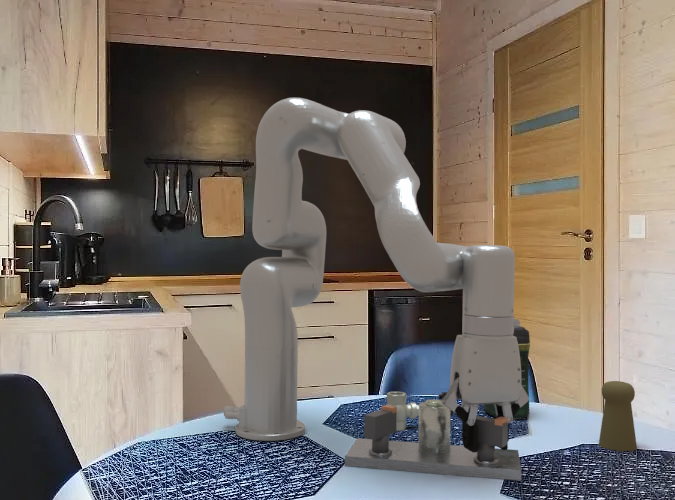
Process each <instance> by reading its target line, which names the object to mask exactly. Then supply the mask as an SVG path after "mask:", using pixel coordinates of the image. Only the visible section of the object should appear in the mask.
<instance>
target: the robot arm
mask: <svg viewBox="0 0 675 500" xmlns="http://www.w3.org/2000/svg"><path fill="white" fill-rule="evenodd" d="M405 136H406V135H405V133H404V131H403V129H402V127H401V126H400V125H399V124H398V123H397V122H396V121H394V120H392V119H390V118H388V117H386V116H383V115H381V114H379V113H377V112H374V111H372V110H371V111H370V110H365V109H364V110H361V109H358V110H355V111H352V112H350V113H347V112H343V111H338V110H336V109H334V108H331V107H329V106H326V105H324V104H322V103H318V102H316V101H313V100H310V99H307V98H303V97H287V98H284V99H281V100H279V101H277V102H276V103H274V104H272V105H271V106H270V107H269V108H268V109H267V110H266V111H265V113H264V114H263V116H262V118H261V119H260V122H259V124H258V127H257V131H256V136H255V159H256V160H255V164H256V165H255V166H256V169H255V180H254V181H255V182H254V193H253V195H254V196H253V206H252V207H253V209H252V222H251V223H252V225H251V226H252V229H251V230H252V236H253V239H254V240H255V241H256V243H257V244H258V245H259V246H261V247H263V248H265V249H268V250H277V251H281V256H267V257H266V256H265V257H261V258H257V259H256V260H253V261H251V263H249V264H248V265H246V267H245V268H244V270H243V272H242V274H241V277H240V282H239V289H240V290H239V291H240V297H241V304H242V310H243V316H244V317H243V319H244V404H243V405H241V406H240V407H236V406H232V405H230V406H229V405H225V406H224V407H223V416H224V418H225V420H237V421H238V423H237V424H236V425H235V427H234V428H235V434H236V436H238V437H240V438H243V439H247V440H251V441H260V442H261V441H262V442H275V441H276V442H277V441H285V440H290V439H295V438H298V437H300V436H302V435H303V434H304V433H305V432H306V424H305V423H304V422H303V421H301V420H298V352H299V351H298V350H299V349H298V348H299V346H298V345H299V344H298V343H299V341H298V339H299V338H298V334H299V333H298V328H297V323H296V318H295V316H294V313H293V309H292V308H299V307H305V306H309V305H310V304H312V303H314V302H315V300H316V299H318V297H319V295H320V293H321V290H322V287H323V283H324V273H325V260H326V248H327V247H326V246H327V245H326V244H327V225H326V219H325V217H324V215H323V213H322V212H321V210H320V209H319V207H318V206H316V205H315V204H314V203H311V202H310V201H306V200H303V198H302V197H303V196H302V195H303V193H302V192H303V182H304V177H303V176H304V174H303V167H302V163H301V161H300V156H299V151H300V150H305V151H308V152H312V153H315V154H318V155H323V156H327V157H332V158H336V159H341V160H346V161H347V162H348V164H349V165H350V166H351V168H352V170H353V172H354V173H355V175H356V177H357V178H358V180H359V181H360V183H361V186H362V187H363V189H364V190H365V193H366V194H367V196H368V198H369V199H370V201H371V203H372V205H373V207H374V217H375V222H376V228H377V231H378V232H377V233H378V234H379V235H378V236H379V238H380V240H381V243H382V245H383V248H384V249H385V252H386V253H387V254H388V257H389V259H390V260H391V262H392V263H393V266H394V267H395V268H396V270H397V271H398V273H399V275H400V276H401V278H402V279H403V280H404V281H405V282H406V283H407V285H408V286H410V288H413V289H414V290H415V291H418V292H421V293H435V292H447V291H448V292H449V291H456V290H462V321H461V322H462V327H461V328H462V329H461V330H462V331H461V333H462V334H457V335H456V338H455V341H454V345H453V352H452V357H451V362H450V365H451V366H450V373H449V374H450V375H449V389H448V391H446V392H447V394H446V395H445V397H444V398H443V400H442V404H443V405H445V406H446V407H447V408H449V409H450V410H452V411H453V414H454V415H456V417H458V419H459V420H460V421H461V423H462V424H461V425H462V426H461V427H462V429H461V433H462V434H461V443H462V446H464V447H465V448H466V449H468V450H469V451H471V452H473V453H474V452H477V451H478V426H477V425H475V420H476V416H478V415H477V414H478V410H479V405H481V406H482V405H483V404H494V405H495V411H496V416H497V417H496V416H495V418H494V417H493V419H496V418H498V417H506V418H508V442H509V441H510V424H511V423H513V420H514V419H513V416H514V415H515V414H516V413H517V412H518V410H519V409H520V407H522V406H523V405H524V404H525V403H527V402H528V401H529V402H530V396H529V397H528V395H527V393H526V392H525V390H524V388H523V387H522V385H521V362H520V353H519V347H518V342H517V338H516V337H515V336H513V333H514V328H518V327H519V326H521V322H520V320H519V318H515V316H514V315H515V313H514V310H515V308H514V307H515V270H516V269H515V268H516V267H515V266H516V265H515V264H516V260H515V259H516V257H515V252H514V250H513V249H512V248H511V247H509V246H507V245H495V244H477V245H470V246H466V245H459V244H455V243H446V242H445V243H444V242H437V241H436V239H435V238H434V236H433V234H432V233H431V231H430V230H429V228H428V226H427V224H426V223H425V221H424V220H423V217H422V215H421V213H420V211H419V210H420V209H419V208H418V203H417V194H418V191H419V189H420V185H421V182H420V178H419V176H418V174H417V173H416V171H415V169H414V168H413V167H412V165H411V163H410V162H409V160H408V158H407V157H406V155H405V151H406V147H407V146H406V143H407V141H406V137H405ZM457 400H461V405H459V404H458V403H457ZM508 445H509V444H508ZM508 445H506V446H504V447H503V448H502V447H498V449H502V450H507V449H509V448H508Z"/></svg>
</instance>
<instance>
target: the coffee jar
mask: <svg viewBox="0 0 675 500" xmlns="http://www.w3.org/2000/svg"><path fill="white" fill-rule="evenodd" d="M513 336H515V337H516V338H517V342H518V347H519V353H520V362H521V385H522V387H523V388H524V390H525V392H526V393H527V395H528V397H529V398H530V389H529V388H530V387H529V353H530V348H531V339H530V330H528V329H526V327H523V326H521V325H520V326H519V327H518V328H514V333H513ZM482 408H483V410H484V412H486V413H487V414H490V415H491V416H493V417H495V418H497V416H496V411H495V405H494V404H483V406H482ZM529 415H530V400H529V401H528V402H527V403H525V404H524V405H523V406H522V407H520V409H519V410H518V412H517V413H516V414H515V415H514V416H513V420H520V419H523V418H527V417H528V416H529Z"/></svg>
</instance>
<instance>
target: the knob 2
mask: <svg viewBox="0 0 675 500" xmlns="http://www.w3.org/2000/svg"><path fill="white" fill-rule="evenodd" d="M495 418H496V419H494V417H488V416H487V417H486V416H481V415H476V420H475V425H477V426H478V451H477V459H478V460H480V461H484V462H492V461H494V460H495V448H496V447H497V448H499V447H502V448H503V447H504V446H506V445H509V444H508V443H509V441H508V418H506V417H498V418H497V417H495Z"/></svg>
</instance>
